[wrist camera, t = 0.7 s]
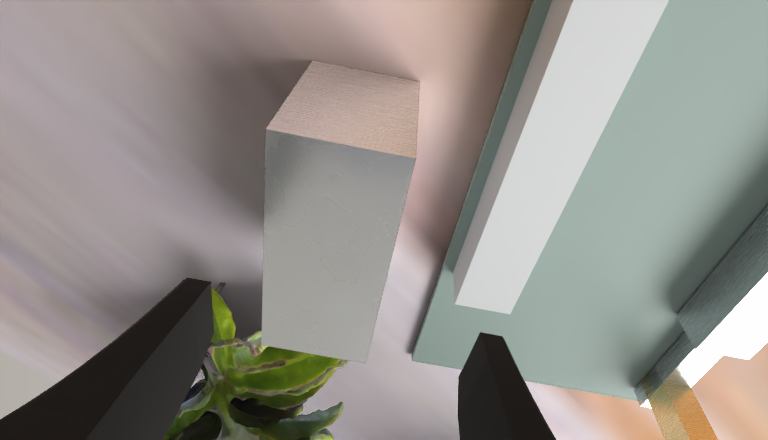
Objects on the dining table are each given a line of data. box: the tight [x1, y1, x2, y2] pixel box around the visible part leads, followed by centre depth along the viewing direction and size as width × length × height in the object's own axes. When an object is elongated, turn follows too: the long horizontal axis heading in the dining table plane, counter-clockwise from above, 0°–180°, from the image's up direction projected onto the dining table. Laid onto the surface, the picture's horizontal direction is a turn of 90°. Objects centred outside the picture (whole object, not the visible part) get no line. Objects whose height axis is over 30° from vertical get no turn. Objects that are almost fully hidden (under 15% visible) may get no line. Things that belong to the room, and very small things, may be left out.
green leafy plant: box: [164, 283, 348, 440], centre depth 23 cm, size 11×11×12 cm
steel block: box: [261, 60, 420, 363], centre depth 17 cm, size 9×4×6 cm, turn 170°
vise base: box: [412, 0, 768, 401], centre depth 19 cm, size 21×15×2 cm
